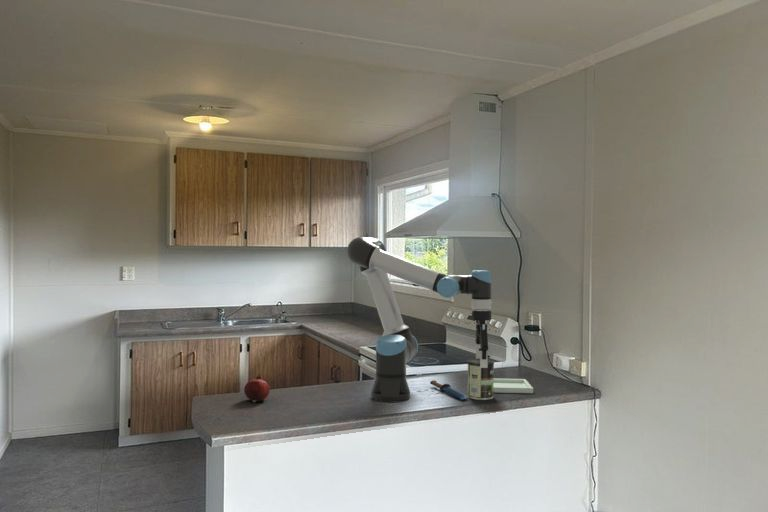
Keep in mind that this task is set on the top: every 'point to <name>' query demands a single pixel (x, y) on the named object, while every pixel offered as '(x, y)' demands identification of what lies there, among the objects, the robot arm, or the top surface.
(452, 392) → the knife
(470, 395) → the coffee can
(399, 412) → the top surface
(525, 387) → the tray
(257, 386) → the fruit
